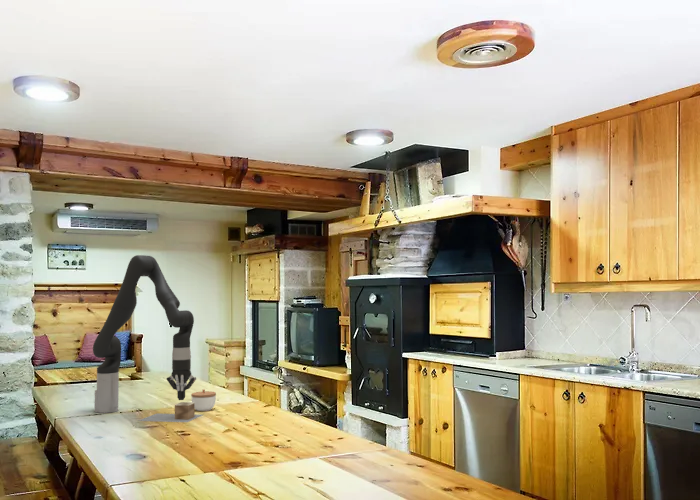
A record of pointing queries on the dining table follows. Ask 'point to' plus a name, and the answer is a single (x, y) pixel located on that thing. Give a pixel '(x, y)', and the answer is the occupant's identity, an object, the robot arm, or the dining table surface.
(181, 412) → the walnut cube
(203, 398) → the lidded jar
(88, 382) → the dining table surface
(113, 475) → the dining table surface
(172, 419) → the mat
